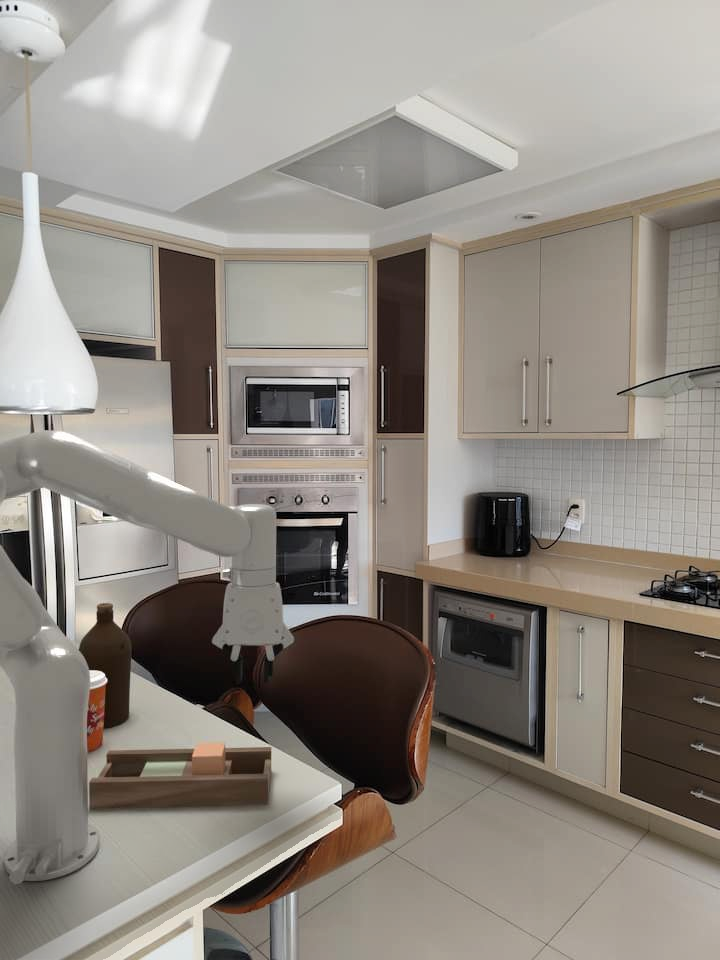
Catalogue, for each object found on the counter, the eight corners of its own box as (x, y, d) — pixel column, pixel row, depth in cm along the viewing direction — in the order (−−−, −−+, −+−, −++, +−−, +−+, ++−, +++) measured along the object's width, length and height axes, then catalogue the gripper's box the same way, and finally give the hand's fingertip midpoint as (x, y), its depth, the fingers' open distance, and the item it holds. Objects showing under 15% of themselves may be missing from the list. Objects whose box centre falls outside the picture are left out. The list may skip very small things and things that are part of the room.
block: (221, 778, 113) (221, 756, 113) (191, 779, 113) (191, 756, 112) (225, 764, 118) (225, 742, 118) (196, 764, 118) (196, 742, 117)
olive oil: (137, 708, 148) (137, 598, 146) (124, 730, 137) (123, 611, 136) (88, 709, 147) (87, 598, 145) (71, 730, 137) (69, 611, 135)
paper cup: (93, 757, 126) (92, 685, 125) (57, 752, 127) (56, 681, 126) (116, 738, 133) (115, 670, 132) (82, 734, 135) (81, 667, 134)
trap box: (267, 804, 111) (267, 778, 111) (89, 809, 109) (89, 782, 108) (271, 770, 122) (271, 747, 122) (109, 774, 120) (109, 750, 119)
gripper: (200, 581, 109) (200, 689, 110) (302, 581, 110) (301, 688, 112) (207, 572, 117) (207, 673, 118) (302, 572, 118) (301, 672, 119)
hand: (253, 679), depth 115 cm, fingers open, 4 cm apart
